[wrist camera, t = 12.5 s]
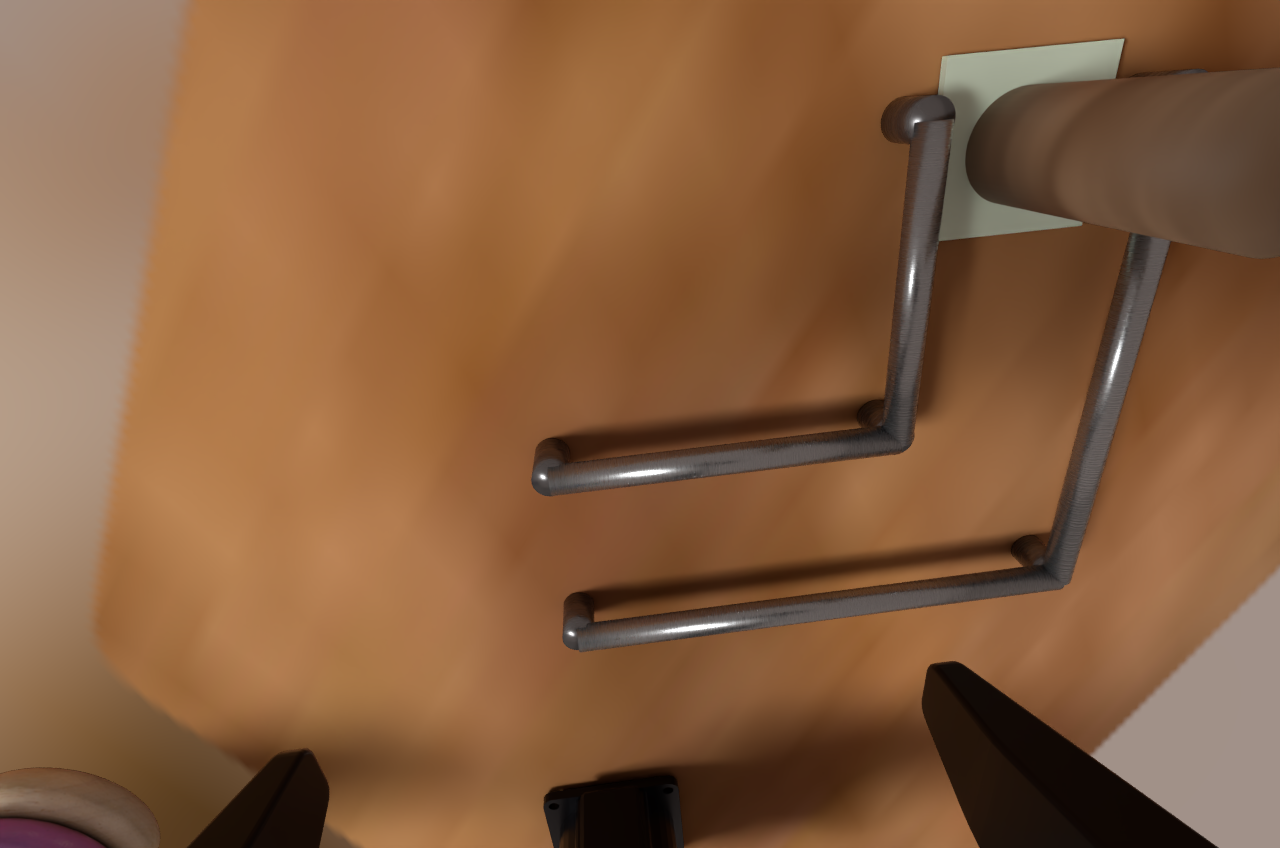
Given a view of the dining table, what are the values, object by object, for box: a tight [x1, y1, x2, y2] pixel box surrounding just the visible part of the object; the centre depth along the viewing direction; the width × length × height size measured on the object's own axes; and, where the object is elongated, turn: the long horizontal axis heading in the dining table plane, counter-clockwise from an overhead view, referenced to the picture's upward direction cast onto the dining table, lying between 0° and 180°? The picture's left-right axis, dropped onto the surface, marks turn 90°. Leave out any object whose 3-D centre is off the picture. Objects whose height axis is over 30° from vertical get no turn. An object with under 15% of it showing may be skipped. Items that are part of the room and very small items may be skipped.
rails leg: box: [881, 69, 1207, 585], centre depth 20 cm, size 17×8×2 cm, turn 5°
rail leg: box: [531, 400, 1064, 652], centre depth 23 cm, size 8×20×2 cm, turn 95°
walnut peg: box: [965, 67, 1280, 259], centre depth 15 cm, size 3×3×8 cm
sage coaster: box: [938, 39, 1124, 241], centre depth 18 cm, size 5×5×1 cm
